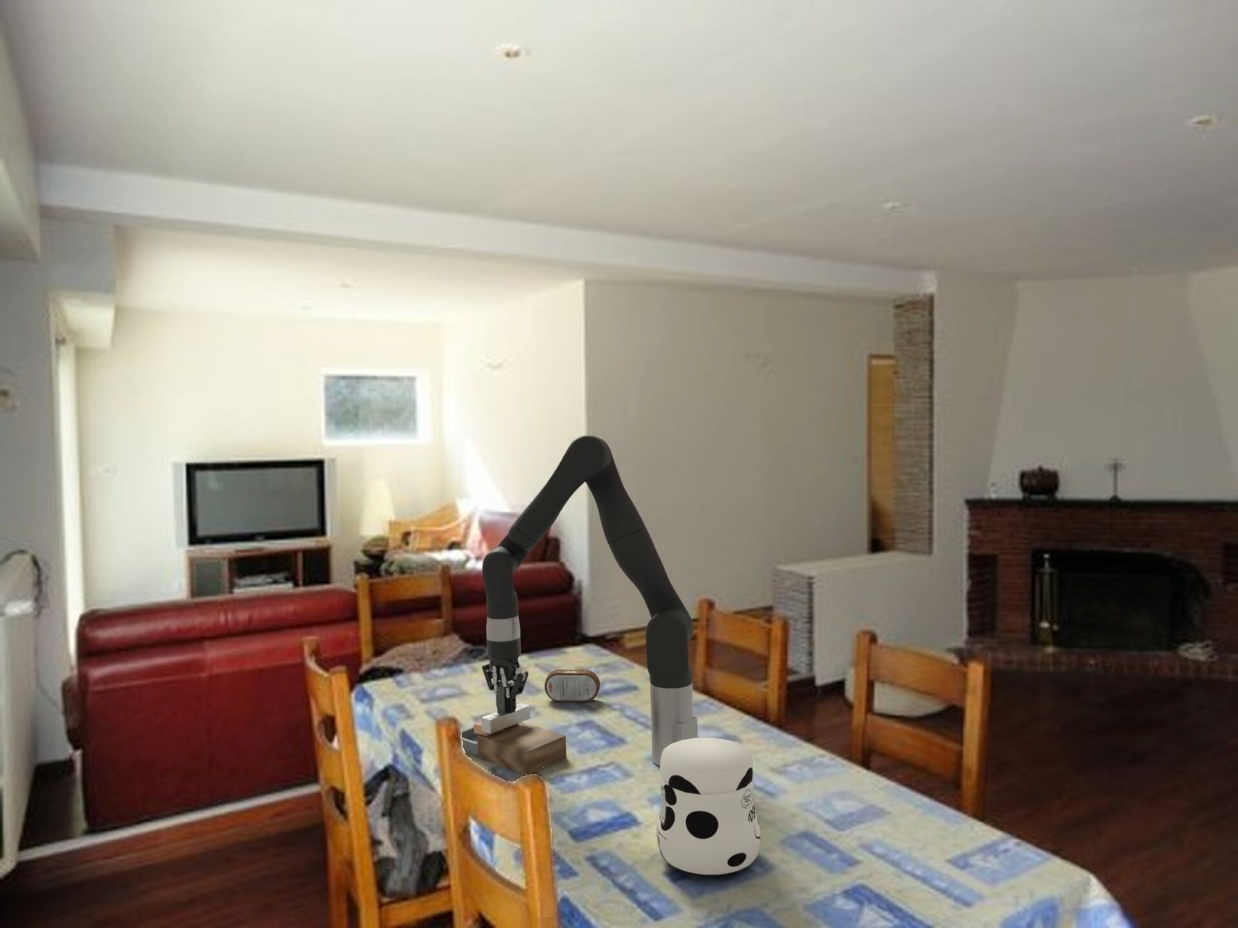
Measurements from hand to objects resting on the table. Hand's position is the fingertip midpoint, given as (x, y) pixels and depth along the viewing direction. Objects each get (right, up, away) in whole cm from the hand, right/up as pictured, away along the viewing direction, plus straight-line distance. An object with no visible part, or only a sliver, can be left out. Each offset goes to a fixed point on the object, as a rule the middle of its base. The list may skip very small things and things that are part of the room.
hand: (506, 710), depth 189 cm
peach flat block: (-4, -5, +1) cm, 6 cm away
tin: (+13, -8, +36) cm, 39 cm away
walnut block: (+4, -10, -3) cm, 11 cm away
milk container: (+41, -11, -49) cm, 64 cm away
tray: (-6, -10, +6) cm, 13 cm away
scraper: (0, -3, 0) cm, 3 cm away
